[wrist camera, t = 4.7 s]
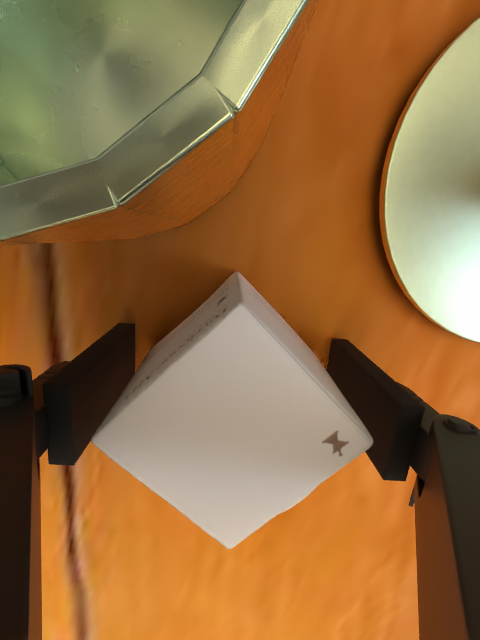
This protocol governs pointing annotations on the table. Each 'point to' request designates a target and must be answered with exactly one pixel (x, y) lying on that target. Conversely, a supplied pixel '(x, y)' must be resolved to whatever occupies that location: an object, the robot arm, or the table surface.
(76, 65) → the tin
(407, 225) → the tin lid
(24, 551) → the robot arm
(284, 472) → the product box
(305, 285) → the table surface
